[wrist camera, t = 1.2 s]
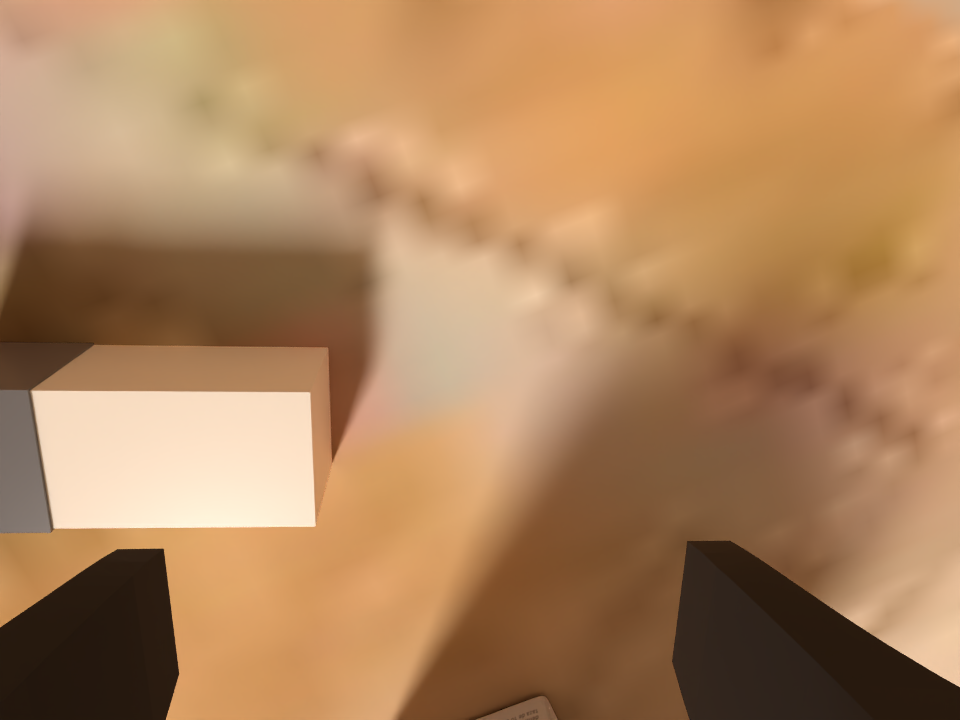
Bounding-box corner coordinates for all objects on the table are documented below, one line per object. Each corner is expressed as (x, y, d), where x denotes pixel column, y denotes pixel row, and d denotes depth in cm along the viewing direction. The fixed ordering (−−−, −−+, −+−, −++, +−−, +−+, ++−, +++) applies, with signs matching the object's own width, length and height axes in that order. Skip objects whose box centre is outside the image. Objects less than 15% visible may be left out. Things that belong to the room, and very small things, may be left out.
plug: (331, 464, 21) (315, 530, 18) (15, 465, 21) (-64, 533, 17) (328, 345, 20) (309, 392, 17) (-7, 341, 19) (-95, 389, 16)
